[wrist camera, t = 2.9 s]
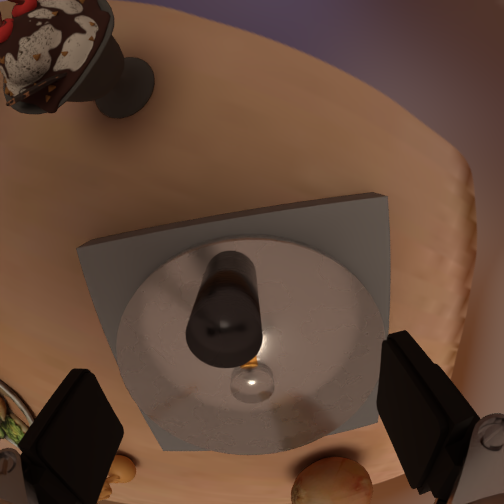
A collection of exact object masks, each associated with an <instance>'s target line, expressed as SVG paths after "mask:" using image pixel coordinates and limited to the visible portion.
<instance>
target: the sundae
mask: <svg viewBox="0 0 504 504" xmlns="http://www.w3.org/2000/svg"><path fill="white" fill-rule="evenodd" d="M8 1H11V2H15V3H16V5H15V6H14V8H13V10H12V19H5V20H3V21H2V18H1V13H0V70H1V72H2V74H3V75H4V85H3V89H4V95H5V98H6V101H7V103H6V105H7V106H11V107H12V108H13V109H15V110H17V111H18V112H20V113H26V114H42V113H47V112H48V113H55V112H56V111H57V110H58V108H59V107H60V106H61V105H63V104H64V103H65V102H66V101H71V102H84V101H94V100H95V102H96V104H97V106H98V108H99V110H100V111H101V112H102V113H104V114H105V115H107V116H109V117H112V118H124V117H127V116H130V115H133V114H134V113H136V112H137V111H139V110H140V109H141V108H142V107H143V106H144V105H145V104H146V102H147V101H148V99H149V98H150V96H151V94H152V91H153V87H154V75H153V71H152V69H151V67H150V66H149V65H148V64H147V63H146V62H145V61H143V60H141V59H139V58H133V57H126V58H124V57H123V54H122V52H121V49H120V47H119V45H118V43H117V42H116V40H115V39H114V37H113V36H112V32H113V28H114V16H113V12H112V9H111V7H110V5H109V4H108V2H107V1H106V0H39V1H37V0H8Z"/></svg>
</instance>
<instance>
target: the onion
mask: <svg viewBox="0 0 504 504" xmlns="http://www.w3.org/2000/svg"><path fill="white" fill-rule="evenodd" d="M372 494H373V486H372V482H371V479H370V476H369V474H368V472H367V471H366V469H365V468H364V467H363V466H361V465H360V464H359V463H357V462H355V461H353V460H351V459H348V458H342V457H329V458H323V459H321V460H319V461H316V462H314V463H313V464H311V465H310V466H308V467H307V468H305V469H304V470H303V471H302V472H301V473H300V474H299V475H298V476H297V478H296V480H295V482H294V485H293V487H292V490H291V501H292V504H370V501H371V498H372Z"/></svg>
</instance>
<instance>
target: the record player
mask: <svg viewBox="0 0 504 504" xmlns="http://www.w3.org/2000/svg"><path fill="white" fill-rule="evenodd" d="M383 340H385V331H384V325H383V321H382V318H381V315H380V312H379V309H378V307H377V305H376V304H375V302H374V300H373V298H372V296H371V295H370V293H369V292H368V291H367V290H366V288H365V287H364V286H363V285H362V283H361V282H360V281H359V280H358V279H357V278H356V277H355V276H354V275H353V273H351V272H350V271H349V270H348V269H347V268H346V267H345V266H344V265H343V264H341V263H340V262H339V261H337V260H336V259H334V258H333V257H331V256H330V255H328V254H327V253H325V252H323V251H321V250H319V249H317V248H315V247H312V246H310V245H308V244H305V243H302V242H299V241H295V240H292V239H289V238H283V237H277V236H271V235H250V234H246V235H236V236H226V237H222V238H217V239H213V240H209V241H205V242H203V243H200V244H197V245H195V246H192V247H189V248H187V249H185V250H183V251H182V252H180V253H178V254H176V255H174V256H173V257H171V258H169V259H168V260H167V261H165V262H164V263H163V264H161V265H160V266H159V267H158V268H156V269H155V270H154V271H153V272H152V273H151V274H150V275H149V276H148V277H147V279H146V280H145V281H144V282H143V283H142V284H141V286H140V287H139V288H138V289H137V291H136V292H135V294H134V295H133V297H132V298H131V300H130V301H129V303H128V304H127V306H126V309H125V311H124V313H123V315H122V317H121V321H120V325H119V328H118V332H117V343H116V350H117V361H118V366H119V370H120V374H121V376H122V379H123V381H124V384H125V386H126V388H127V390H128V391H129V393H130V395H131V397H132V398H133V400H134V401H135V402H136V404H137V405H138V406H139V407H140V409H141V410H142V411H143V412H144V413H145V414H146V415H147V416H148V417H149V418H150V419H151V420H152V421H154V422H155V423H156V424H157V425H158V426H160V427H161V428H162V429H164V430H166V431H167V432H169V433H170V434H172V435H173V436H175V437H177V438H179V439H181V440H183V441H185V442H188V443H190V444H193V445H195V446H198V447H201V448H204V449H208V450H212V451H216V452H222V453H227V454H237V455H261V454H271V453H277V452H283V451H287V450H291V449H294V448H298V447H301V446H303V445H306V444H309V443H311V442H313V441H316V440H318V439H320V438H322V437H324V436H325V435H327V434H329V433H330V432H332V431H334V430H335V429H337V428H338V427H339V426H341V425H342V424H343V423H345V422H346V421H347V420H348V419H349V418H350V417H351V416H353V415H354V414H355V413H356V412H357V411H358V409H359V408H360V407H361V406H362V405H363V404H364V402H365V401H366V400H367V398H368V397H369V395H370V394H371V392H372V391H373V389H374V387H375V385H376V383H377V381H378V379H379V373H380V362H381V348H382V342H383Z"/></svg>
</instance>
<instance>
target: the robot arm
mask: <svg viewBox="0 0 504 504" xmlns="http://www.w3.org/2000/svg"><path fill="white" fill-rule="evenodd" d="M376 406H377V410H378V413H379V415H380V417H381V420H382V422H383V424H384V426H385V429H386V431H387V433H388V435H389V438H390V440H391V442H392V444H393V447H394V449H395V451H396V453H397V456H398V458H399V460H400V463H401V465H402V468H403V470H404V472H405V475H406V477H407V479H408V482H409V484H410V486H411V488H413V489H415V488H417V490H418V492H419V494H420V495H421V494H423V493H426V492H428V491H432V494H433V496H434V497H435V498H436V499H435V502H434V504H504V414H501V413H494V414H490V415H487V416H485V417H483V418H482V419H480V418H479V416H478V415H477V414H476V412H475V411H474V410H473V408H472V407H471V406H470V404H469V403H468V402H467V400H466V399H465V398H464V396H463V395H462V394H461V393H460V391H459V390H458V389H457V388H456V386H455V385H454V384H453V383H452V381H451V380H450V379H449V377H448V376H447V375H446V374H445V372H444V371H443V370H442V369H441V367H440V366H438V365H437V364H435V363H433V362H432V361H431V359H430V358H429V357H428V356H427V354H426V353H425V352H424V351H423V350H422V348H421V347H420V346H419V345H418V344H417V342H416V341H415V340H414V339H413V338H412V336H411V335H410V334H409V333H408V332H407V331H406V330H404V331H400V332H396V333H392V334H389V335H388V336H387V340H383V342H382V348H381V362H380V373H379V383H378V392H377V400H376ZM123 435H124V429H123V426H122V424H121V423H120V421H119V419H118V418H117V416H116V414H115V413H114V411H113V409H112V407H111V405H110V404H109V402H108V400H107V398H106V396H105V394H104V393H103V391H102V389H101V387H100V385H99V383H98V381H97V379H96V377H95V375H94V374H93V373H91V372H90V371H89V370H88V369H72V370H71V371H70V372H69V374H68V375H67V376H66V378H65V379H64V380H63V382H62V383H61V384H60V386H59V387H58V388H57V390H56V391H55V392H54V394H53V395H52V396H51V398H50V399H49V400H48V402H47V403H46V405H45V406H44V407H43V409H42V410H41V412H40V413H39V414H38V416H37V417H36V419H35V420H34V421H33V423H32V424H31V426H30V427H29V429H28V430H27V432H26V433H25V434H24V436H23V437H22V439H21V440H20V442H19V443H18V445H17V446H18V447H19V449H20V450H21V451H22V452H23V453H22V454H21V455H20V454H19V453H18V452H17V451H16V450H15V449H13V448H5V449H2V450H0V504H97V501H98V499H99V496H100V493H101V491H102V488H103V485H104V483H105V480H106V478H107V475H108V473H109V470H110V467H111V465H112V462H113V460H114V457H115V455H116V452H117V450H118V447H119V445H120V443H121V440H122V438H123Z"/></svg>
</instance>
